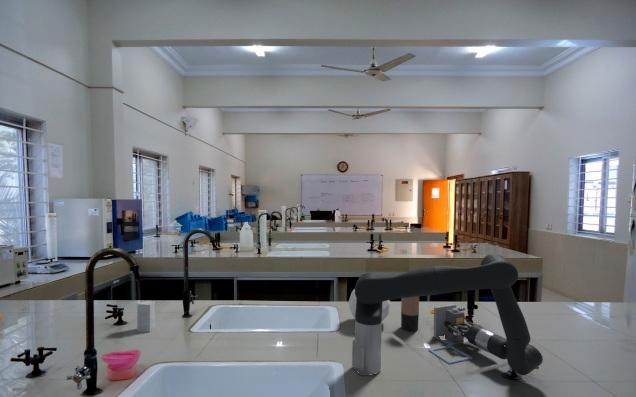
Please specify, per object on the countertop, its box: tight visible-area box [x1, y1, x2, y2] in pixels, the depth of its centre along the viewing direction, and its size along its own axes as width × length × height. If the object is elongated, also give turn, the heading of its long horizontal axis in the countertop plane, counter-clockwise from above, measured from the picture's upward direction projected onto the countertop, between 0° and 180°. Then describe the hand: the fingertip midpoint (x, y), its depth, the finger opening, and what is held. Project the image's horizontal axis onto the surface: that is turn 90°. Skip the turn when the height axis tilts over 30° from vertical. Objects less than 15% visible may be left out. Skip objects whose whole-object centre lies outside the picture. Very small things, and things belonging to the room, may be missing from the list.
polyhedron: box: [347, 288, 391, 322], centre depth 161 cm, size 19×20×20 cm
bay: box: [433, 303, 469, 346], centre depth 141 cm, size 11×9×14 cm
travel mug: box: [400, 296, 420, 333], centre depth 151 cm, size 8×8×20 cm
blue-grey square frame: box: [427, 344, 473, 365], centre depth 128 cm, size 11×11×2 cm
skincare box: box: [136, 300, 156, 333], centre depth 149 cm, size 6×4×12 cm
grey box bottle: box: [445, 307, 466, 345], centre depth 140 cm, size 5×5×13 cm
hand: (450, 322), depth 142 cm, fingers closed on grey box bottle, 5 cm apart
